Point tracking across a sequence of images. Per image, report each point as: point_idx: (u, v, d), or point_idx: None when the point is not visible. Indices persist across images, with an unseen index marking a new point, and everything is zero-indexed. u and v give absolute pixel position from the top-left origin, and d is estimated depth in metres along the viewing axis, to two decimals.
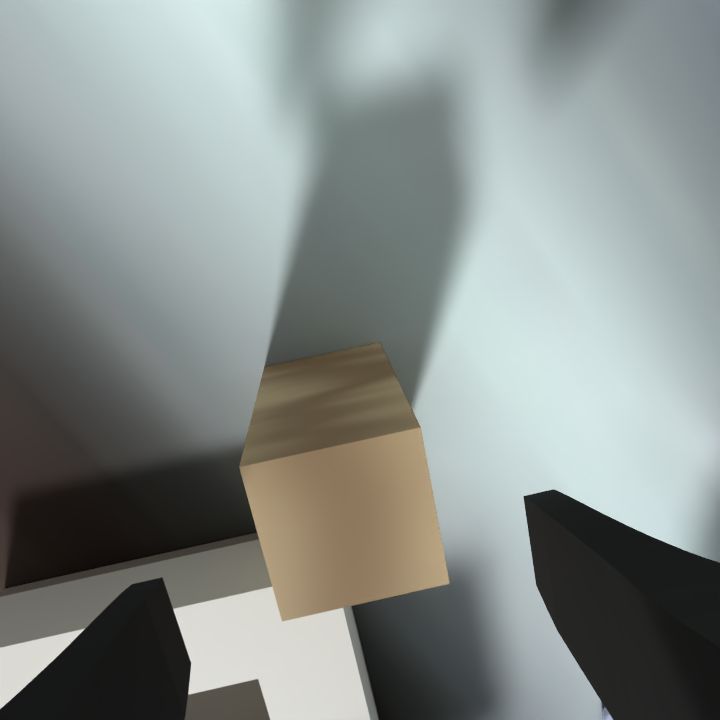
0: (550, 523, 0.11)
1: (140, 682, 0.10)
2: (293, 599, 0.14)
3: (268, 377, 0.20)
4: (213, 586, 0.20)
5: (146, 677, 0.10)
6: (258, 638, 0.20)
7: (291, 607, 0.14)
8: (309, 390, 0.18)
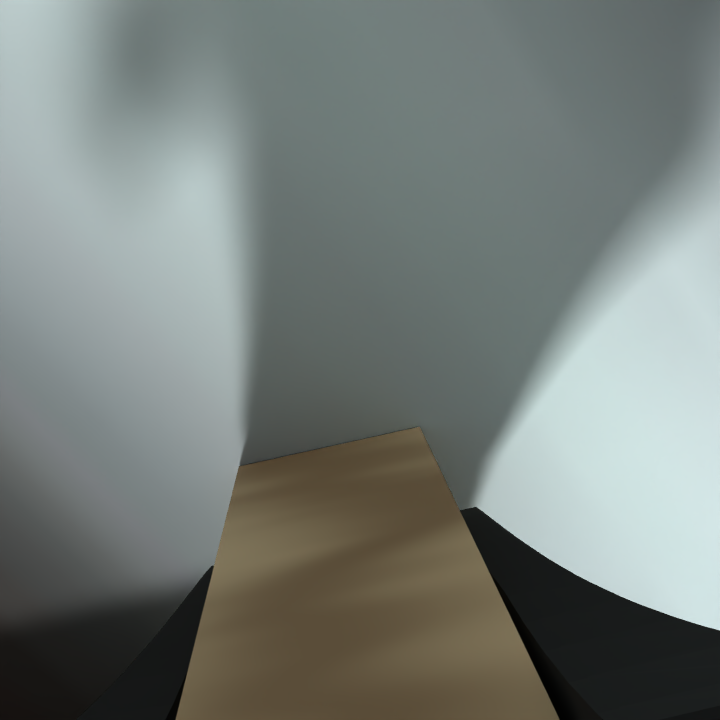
0: None
1: None
2: None
3: (242, 495, 0.12)
4: None
5: None
6: None
7: None
8: (309, 543, 0.10)
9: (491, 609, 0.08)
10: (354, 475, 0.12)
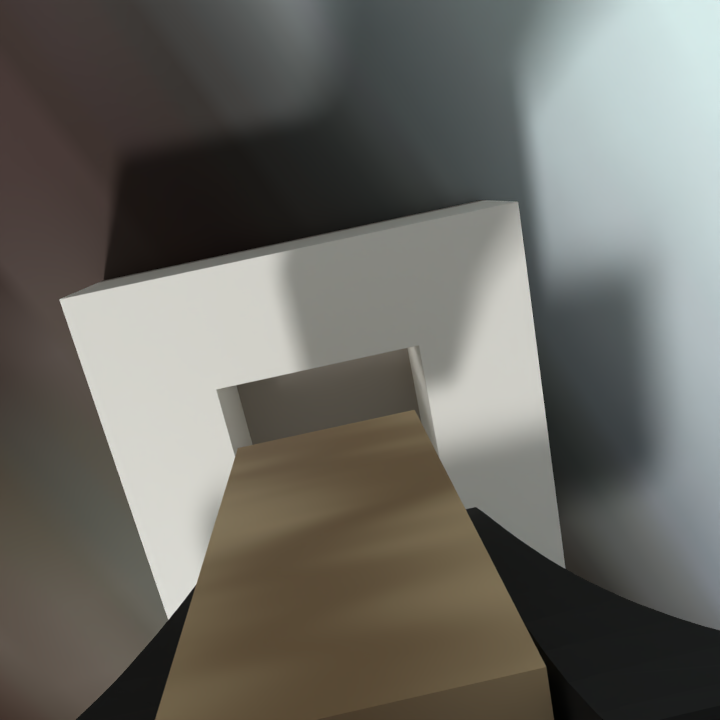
0: None
1: None
2: None
3: (240, 472, 0.12)
4: (367, 231, 0.17)
5: None
6: (423, 288, 0.16)
7: None
8: (305, 511, 0.10)
9: (478, 563, 0.08)
10: (350, 453, 0.12)
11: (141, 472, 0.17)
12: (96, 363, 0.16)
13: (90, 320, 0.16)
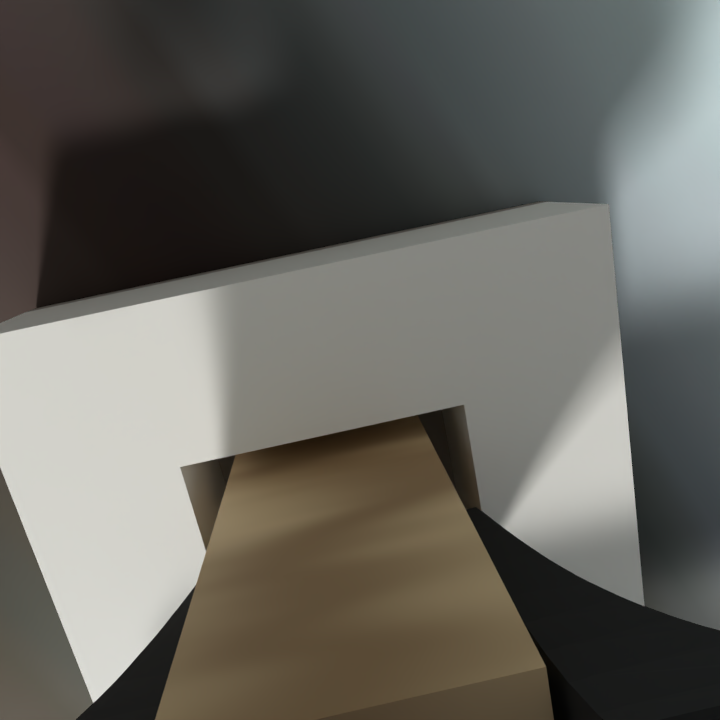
0: None
1: None
2: None
3: (239, 472, 0.12)
4: (392, 245, 0.12)
5: None
6: (471, 326, 0.12)
7: None
8: (305, 511, 0.10)
9: (478, 563, 0.08)
10: (350, 453, 0.12)
11: (77, 579, 0.12)
12: (9, 433, 0.11)
13: None
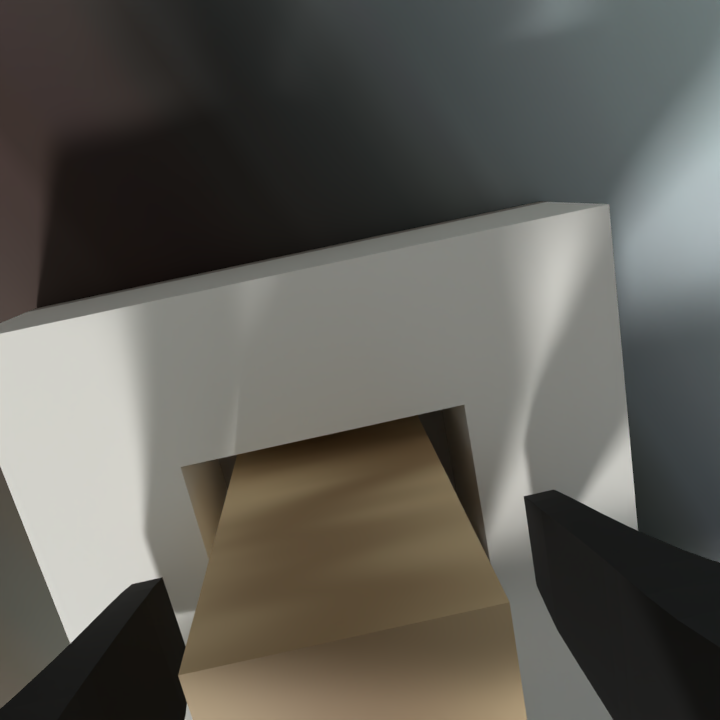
0: (550, 523, 0.11)
1: (140, 682, 0.10)
2: None
3: None
4: (392, 245, 0.12)
5: (146, 677, 0.10)
6: (472, 326, 0.12)
7: None
8: (308, 482, 0.12)
9: (458, 524, 0.09)
10: (347, 431, 0.13)
11: (77, 579, 0.12)
12: (10, 433, 0.11)
13: None
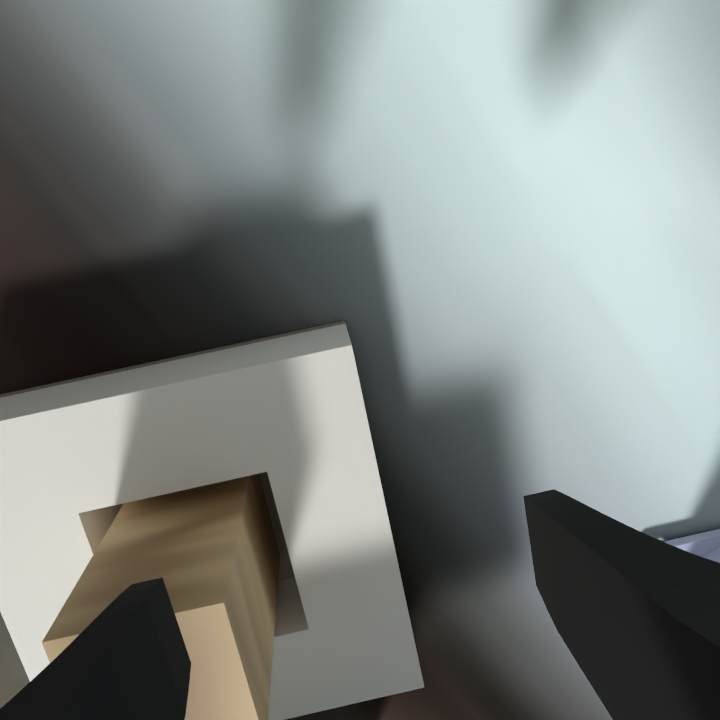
0: (550, 523, 0.11)
1: (140, 682, 0.10)
2: None
3: None
4: (217, 367, 0.18)
5: (146, 677, 0.10)
6: (267, 422, 0.18)
7: None
8: (158, 524, 0.18)
9: (226, 555, 0.15)
10: None
11: (12, 587, 0.19)
12: None
13: None
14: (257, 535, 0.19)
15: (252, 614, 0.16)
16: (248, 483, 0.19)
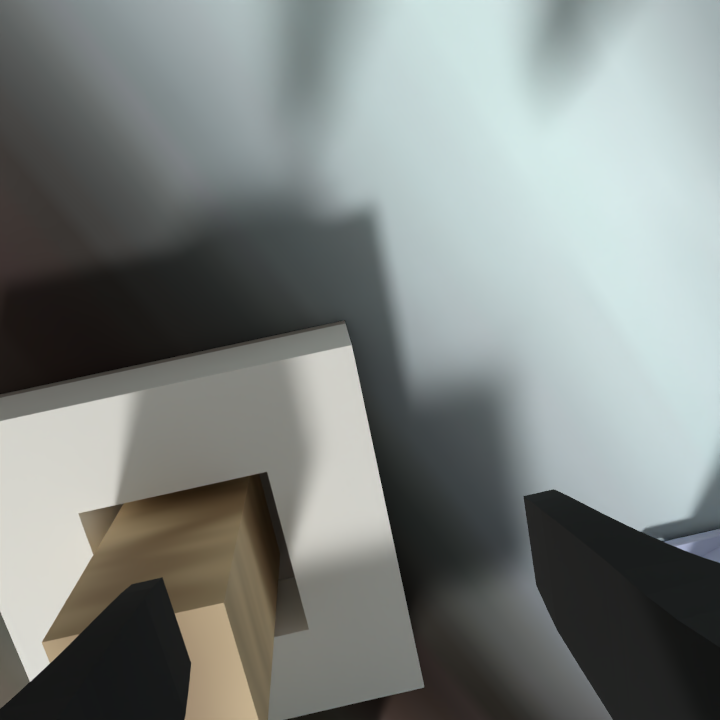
0: (550, 523, 0.11)
1: (140, 682, 0.10)
2: None
3: None
4: (217, 367, 0.18)
5: (146, 677, 0.10)
6: (267, 422, 0.18)
7: None
8: (158, 524, 0.18)
9: (226, 555, 0.15)
10: None
11: (12, 587, 0.19)
12: None
13: None
14: (257, 535, 0.19)
15: (252, 614, 0.16)
16: (248, 483, 0.19)
